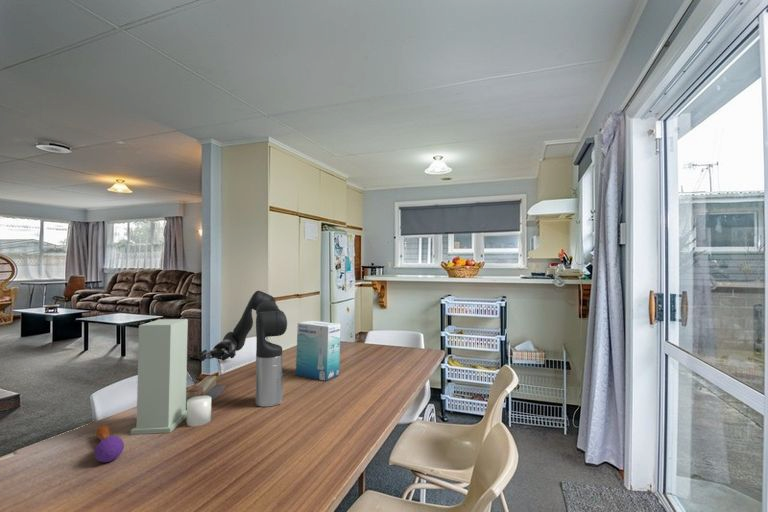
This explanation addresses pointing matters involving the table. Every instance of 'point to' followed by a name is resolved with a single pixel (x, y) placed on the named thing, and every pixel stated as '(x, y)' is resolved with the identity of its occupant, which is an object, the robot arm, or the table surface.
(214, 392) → the mat
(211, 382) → the catapult arm
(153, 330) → the stand
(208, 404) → the white short cylinder
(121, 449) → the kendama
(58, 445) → the table surface
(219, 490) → the table surface
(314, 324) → the toothbrush box
